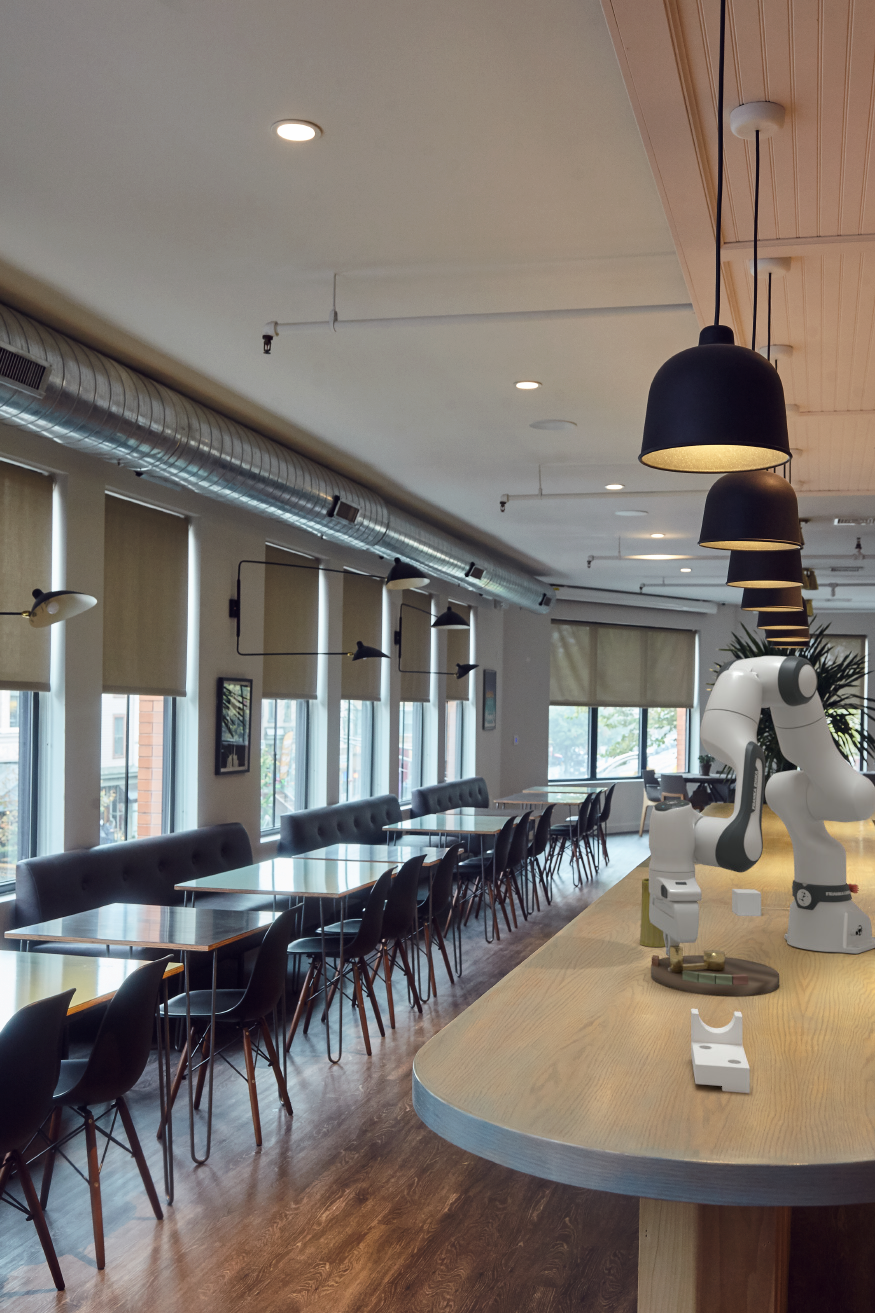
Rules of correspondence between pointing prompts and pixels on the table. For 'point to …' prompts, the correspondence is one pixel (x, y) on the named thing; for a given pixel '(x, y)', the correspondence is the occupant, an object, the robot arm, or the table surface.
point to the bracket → (719, 1054)
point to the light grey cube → (746, 902)
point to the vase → (649, 932)
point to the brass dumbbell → (711, 961)
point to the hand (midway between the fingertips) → (671, 957)
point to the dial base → (732, 967)
